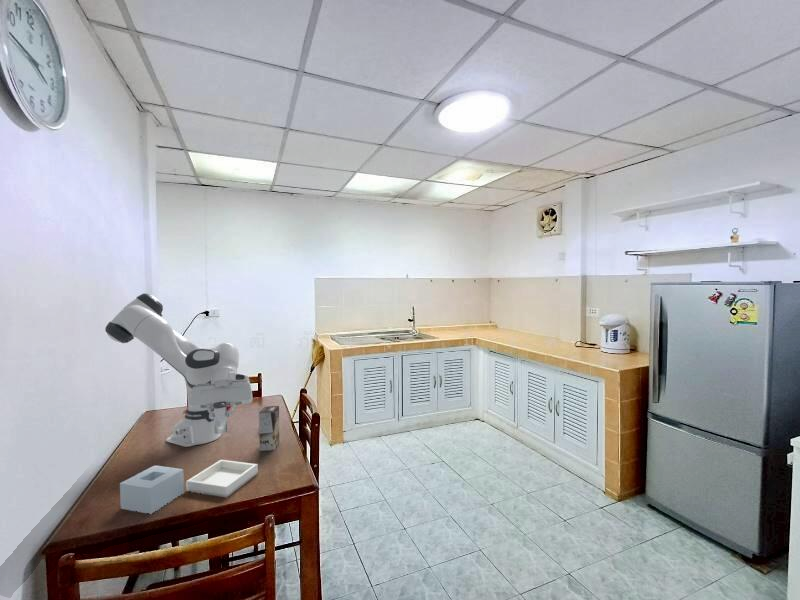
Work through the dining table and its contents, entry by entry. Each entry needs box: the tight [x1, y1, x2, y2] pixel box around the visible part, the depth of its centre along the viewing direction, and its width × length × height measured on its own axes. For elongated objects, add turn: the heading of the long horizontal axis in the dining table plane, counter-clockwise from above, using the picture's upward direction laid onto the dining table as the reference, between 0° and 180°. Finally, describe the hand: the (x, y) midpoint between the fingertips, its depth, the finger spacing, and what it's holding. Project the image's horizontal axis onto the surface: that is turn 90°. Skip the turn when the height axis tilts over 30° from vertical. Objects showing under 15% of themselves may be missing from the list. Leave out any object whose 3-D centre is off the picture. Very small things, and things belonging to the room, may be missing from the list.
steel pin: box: [214, 402, 228, 435], centre depth 129 cm, size 4×4×10 cm
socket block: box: [119, 465, 185, 515], centre depth 119 cm, size 12×12×8 cm
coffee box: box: [258, 405, 281, 452], centre depth 159 cm, size 9×6×16 cm
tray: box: [185, 459, 259, 498], centre depth 130 cm, size 16×16×4 cm
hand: (220, 416), depth 129 cm, fingers closed on steel pin, 4 cm apart
